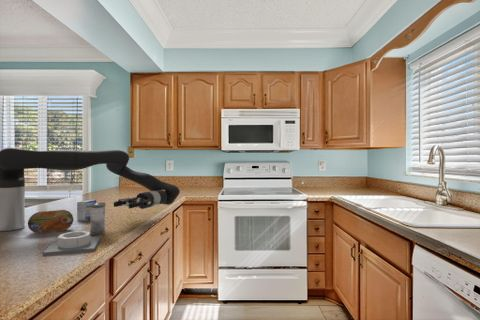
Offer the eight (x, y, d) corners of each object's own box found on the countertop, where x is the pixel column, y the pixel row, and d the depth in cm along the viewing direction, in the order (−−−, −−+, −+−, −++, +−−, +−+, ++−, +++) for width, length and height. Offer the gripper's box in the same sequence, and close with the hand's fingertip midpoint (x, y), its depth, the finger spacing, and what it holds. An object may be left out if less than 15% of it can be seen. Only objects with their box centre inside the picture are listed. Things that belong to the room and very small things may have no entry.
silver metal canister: (88, 236, 105) (88, 204, 105) (91, 233, 111) (91, 202, 110) (104, 235, 107) (104, 204, 107) (106, 231, 112) (106, 202, 112)
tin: (27, 234, 108) (27, 212, 108) (29, 232, 110) (29, 211, 110) (73, 230, 115) (73, 209, 114) (73, 228, 117) (73, 208, 117)
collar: (42, 255, 85) (42, 242, 85) (56, 242, 98) (56, 230, 98) (94, 251, 90) (94, 238, 90) (100, 238, 103) (100, 228, 103)
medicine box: (84, 220, 131) (85, 202, 131) (76, 220, 132) (76, 201, 132) (96, 217, 139) (96, 199, 139) (88, 216, 140) (89, 199, 139)
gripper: (137, 190, 137) (109, 195, 122) (160, 192, 131) (134, 197, 116) (137, 206, 137) (109, 212, 122) (160, 208, 131) (134, 215, 116)
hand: (121, 205), depth 119 cm, fingers open, 8 cm apart
